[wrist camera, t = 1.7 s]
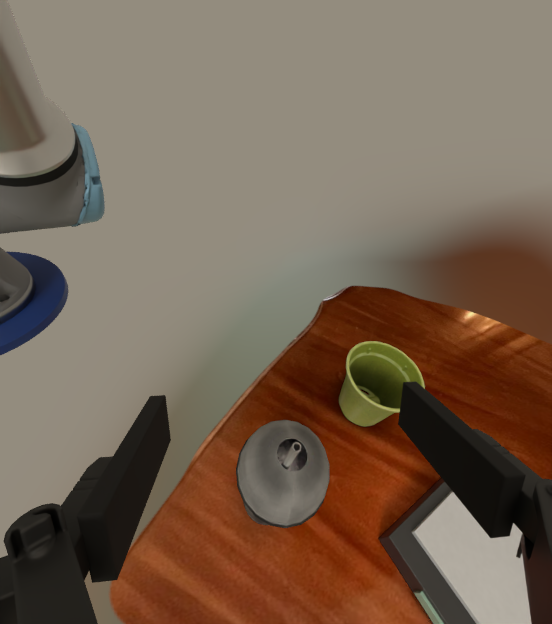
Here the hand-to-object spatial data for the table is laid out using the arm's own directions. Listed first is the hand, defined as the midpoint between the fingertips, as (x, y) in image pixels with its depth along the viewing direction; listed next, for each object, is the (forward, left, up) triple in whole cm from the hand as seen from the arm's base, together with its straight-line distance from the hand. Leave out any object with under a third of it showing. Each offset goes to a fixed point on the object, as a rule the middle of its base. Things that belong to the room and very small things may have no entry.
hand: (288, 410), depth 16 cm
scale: (+17, +17, -21) cm, 32 cm away
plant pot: (-2, +18, -21) cm, 28 cm away
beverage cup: (+1, +1, -21) cm, 21 cm away
